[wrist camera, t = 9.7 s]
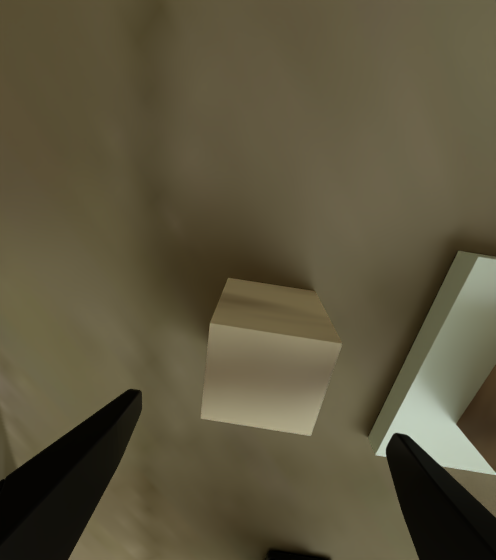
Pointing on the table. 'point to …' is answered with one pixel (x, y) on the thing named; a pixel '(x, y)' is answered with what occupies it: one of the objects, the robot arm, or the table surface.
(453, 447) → the plate
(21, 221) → the table surface
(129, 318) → the table surface
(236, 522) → the table surface
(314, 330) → the maple block
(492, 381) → the walnut block
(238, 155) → the table surface
